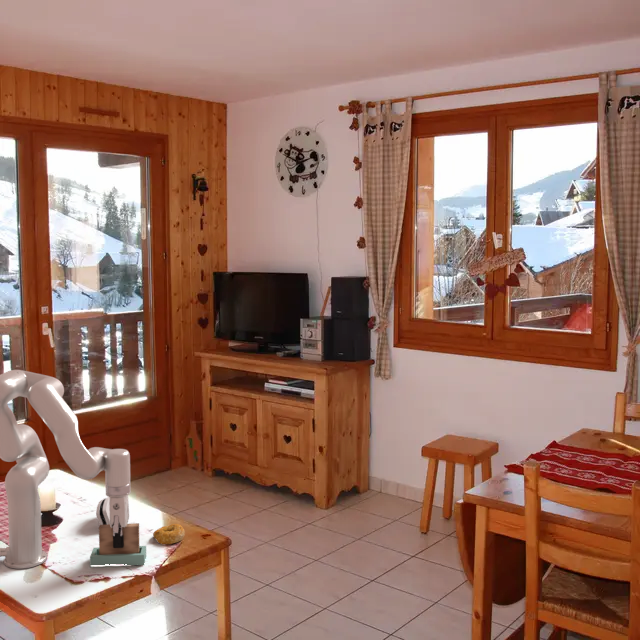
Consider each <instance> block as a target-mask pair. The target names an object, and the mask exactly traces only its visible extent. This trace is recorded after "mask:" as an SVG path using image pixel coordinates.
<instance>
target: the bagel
mask: <svg viewBox="0 0 640 640" xmlns="http://www.w3.org/2000/svg"><path fill="white" fill-rule="evenodd" d="M152 535H153V538H154V539H155V540H156V542H157V543H158V544H160V545H164V544H166V545H172V544H177V543H179V542H180V541H182V540H183V539H184V537H185V529H184V527H183V526H182V525H181V524H180V523H172V524H169V525H164V526H161V527H160V528H158V529H157V530H155V531H154V532H153V533H152Z"/></svg>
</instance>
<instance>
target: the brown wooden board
mask: <svg viewBox="0 0 640 640" xmlns="http://www.w3.org/2000/svg"><path fill="white" fill-rule="evenodd" d="M119 526H121V525H119ZM119 530H120V529H119ZM123 535H124V547H123V548H113V528H111V527H110V524H107V525H100V524H99V527H98V542H99V543H98V545H99V555H110V554H137V553H139V546H140V523H137V522H136V523H127V526H126V527H125V528H124V527H123Z"/></svg>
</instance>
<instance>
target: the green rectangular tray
mask: <svg viewBox="0 0 640 640" xmlns="http://www.w3.org/2000/svg"><path fill="white" fill-rule="evenodd" d="M145 559H147V545H139V553H137V554H110V555H99V547H93V548H92V551H91V553H90V555H89V566H90V565H105V564H109V565H110V564H124V565H125V564H127V565H144V566H145V564H144V563H146V560H145Z"/></svg>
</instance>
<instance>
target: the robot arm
mask: <svg viewBox="0 0 640 640" xmlns="http://www.w3.org/2000/svg"><path fill="white" fill-rule="evenodd" d="M64 393H65V387H64V384H63V383H62V382H61V381H60V380H59V379H58V378H56V377H53V376H50V375H45V374H42V373H36V372H32V371H27V370H22V369H11V370H9V371H6V372H3V373H1V374H0V459H1V460H2V461H3V462H8V463H10V462H16V464H14V466H12V467H11V468H10V469H9V471H8V472H7V474H6V476H5V479H4V489H5V493H6V500H7V513H8V514H7V515H8V520H7V521H8V546H6V547H0V557H4V559H3V563H4V565H5V566H6V567H7V568H11V569H20V570H21V569H29V568H33V567H37V566H39V565H41V564H43V563H44V562H46V561H47V559H48V554H47V552H46V551H45V550H42V549H43V548H42V545H43V543H42V538H43V537H42V509H41V505H42V503H41V497H40V494H39V486H40V485H41V483H43V482H44V481H45V480H46V479H47V477H48V475H49V473H50V464H49V461H48V458H47V455H46V453H45V451H44V448H43V446H42V443H41V440H40V438H39V436H38V434H37V433H36V431H35V429H33V428H32V427H31V426H29V425H28V424H23V423H18V422H17V420H16V419H17V418H16V417H15V414H14V413H13V411H12V409H11V408H10V407H9V406H8V403H9V402H10V401H12V400H14V399H16V398H18V397H23V398H26V399H27V400H28V402H29V404H30V405H31V407H32V408H33V409H34V411H35V412H36V413H37V415H38V416H39V417H40V418H41V420H42V421H43V422H44V424H45V425H46V426H47V427H48V429H49V430H50V432H51V433H52V434H53V436H54V440H55V443H56V445H57V448H58V450H59V453H60V455H61V457H62V459H63V460H64V463H66V465H67V466H68V467H69V468H70V469H71V472H73V474H75V475H76V476H77V477H78V478H80V479H82V480H91V479H94V478H95V477H97V476H98V475H99V473H101V472H103V471H104V472H105V474H104V476H105V477H104V478H105V479H104V481H105V496H106V497H109V511H110V527H111V528H113V548H123V547H124V535H123V527H124V528H125V527H126V526H127V524H129V520H130V504H129V495H130V494H131V455H130V454H131V453H130V452H129V450H128V449H125V448H113V449H112V448H104V447H101V446H100V447H99V446H94V447H90V448H89V449H87V448H86V447H85V445H84V443H83V442H82V440H81V437H80V434H79V420H78V417H77V415H76V414H75V412H74V410H72V408H71V407H70V406H69V405H68V404H67V402H66V401H65V399H64V398H63V396H64ZM119 525H121V526H119ZM119 529H120V530H119Z"/></svg>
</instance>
